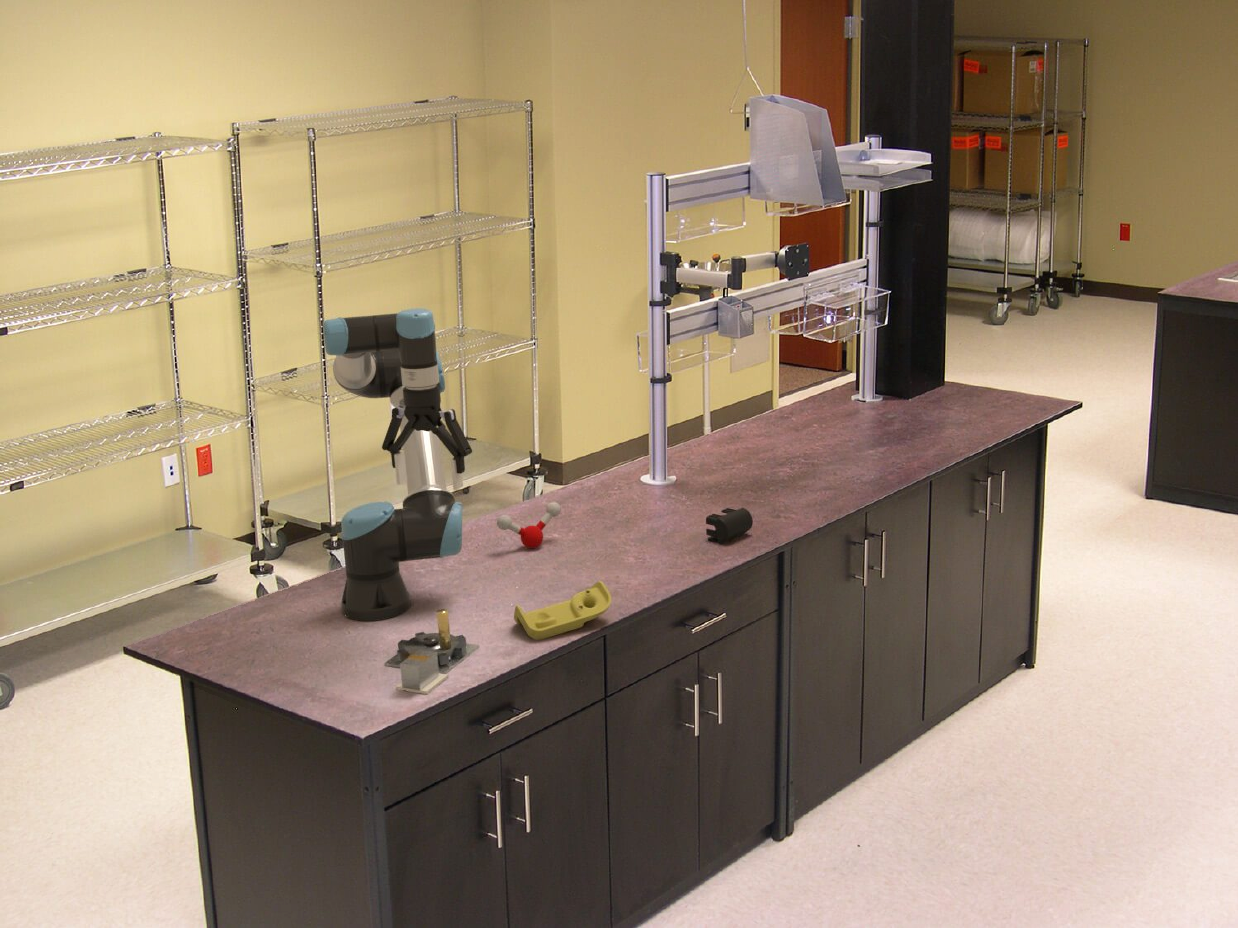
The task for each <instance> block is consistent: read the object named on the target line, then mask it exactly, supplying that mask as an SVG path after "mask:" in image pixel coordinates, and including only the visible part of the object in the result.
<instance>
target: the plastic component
mask: <svg viewBox="0 0 1238 928" xmlns="http://www.w3.org/2000/svg"><path fill="white" fill-rule="evenodd" d="M611 605H612V595H611V593H610V591H609V589H608V588H607V586H606V585H605V583H604V582H603V581H602V580H601V581H600V580H599V581H597V582H595V583H594V584H593V585H592V586H591V587H590V588H589V589H586V588H585V590H583V591H580V592H577V593H576V594H574V595H573V597H572V598H571V599H568V600H566V601H561V602H558V603H555V604H551V605H548V606H544V607H542V608H538V609H535V610H532V611H528V612H524V610H523V609H522V607H521V606H520V605H519V604H518V605H515V608H514V613H513V614H514V615H513V620H514V622H515V623H517V625H522V627H523V629H524V630H525V632H526V633H527V635H528V637H530V638H531V639H533V640H544V639H547V638H551V637H554V636H557V635H560V634H565V633H567V632H572V631H574V630H576V629H581V628H582V627H584V624H585V623H586V622H590V621H593V620H595V619H596V618H598V617H601V616H602V615H603V614H604V613H605V612H606V611H607V610H608V609H609V608H610V606H611Z"/></svg>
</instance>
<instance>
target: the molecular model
mask: <svg viewBox="0 0 1238 928" xmlns="http://www.w3.org/2000/svg"><path fill="white" fill-rule="evenodd" d="M545 507H546V508H545V511H546V512H545V514H544V515H543V516H542V518H541V519H540V520H539V521H538V523H536V525H528V526H526V527H522V526H520V525H518V524H517V523H515V522H513V520H512V518H511V516H509V515H508V514H501V515H499V517H498V518H497V520H496V525H497V527H498V528H499V529H500V530H502V531H507V530H509V531H511V532H514V533H516V534H518V535H519V536H520V541H521V543H522V544H523V546H524V547H525V548H527V549H535V548H538V547H540V546H541V545H542V543H543V541H544V534H543V530H544V528H545V527H546V525H548V523H549V522H550V521H551V519H552V518H555V517H557V516H559V515H561V511H562V507H561V505H560V504H559V503H558V502H556V501H552V502H550V503H548V504H547V506H545Z"/></svg>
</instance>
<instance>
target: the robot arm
mask: <svg viewBox="0 0 1238 928" xmlns="http://www.w3.org/2000/svg"><path fill="white" fill-rule="evenodd" d="M434 320H435V319H434V314H433V312H432V310H430V309H426V308H409V309H404V310H401V311H399V312H398V313H385V314H375V315H374V314H373V315H363V316H362V315H361V316H351V317H350V316H349V317H340V316H339V317H337V318H331V319H326V320H325V321H324V322H323V324H322V327H323V328H322V329H323V338H324V347H325V352H326V354H327V355H329V356H335V359H334V360H333V365H332V372H333V377H334V380H335V381H336V382H337V385H339V386H340V387H341V388H342V389H343V390H345V391H346V392H349V393H350V394H352V395H356V396H358V397H362V398H366V399H383V398H384V399H385V398H388V399H389V402H390V404H391V405H392V406H393V408H392V409H391V420H390V423H389V426H388V428H387V430H386V434H385V436H384V440H383V442H382V445H381V449H382V450H383V451H387V452H389V453H390V457H391V466H392V468H393V469H395V479H396V485H398V486H399V485H403V484H405V483H406V485H407V493H408V495H407V496H406V497H405V498H404V499H403V500H402V507H401V508H396V509H395V506H394V505H393V504H392V503H391V502H388V501H375V502H368V503H365V504H362V505H359V506H356V507H354V508H352V509H350V510H348V511H347V512H346V513H345V514H344V515H343V516H342V518H341V522H340V524H341V535H340V536H341V537H340V538H341V540H342V543H343V544H342V545H343V553H344V554H343V555H344V566H345V567H344V568H345V574H346V581H345V584H344V588H343V593H342V598H341V603H340V604H341V605H340V606H341V613H342V612H343V613H342V614H344V615H346V616H347V617H346V616H345V617H346V618H348V617H349V618H348V619H350V618H352V619H351V620H354V619H357V620H356V621H380V620H386V619H390V618H394V617H396V616H399V615H402V614H403V613H405V612H407V611H408V610H409V609H410V608H411V604H412V602H411V595H410V592H409V590H408V589H407V586H406V584H405V581H404V579H403V577H402V574H401V571H400V562H410V561H411V562H412V561H418V560H426V559H427V560H428V559H429V560H431V559H437V558H439V559H443V558H445V557H450V556H451V557H452V556H457V555H458V554H460V553H461V551H462V548H463V503H462V502H460V501H459V502H458V501H456V500H455V499H456V498H455V496H454V494H453V493H452V492H451V491H449V490H447V483H446V482H447V481H446V477H445V469H444V462H443V455H442V448H441V443H442V444H443V446H444V447H445V449H447V450H448V452H449V453H450V454H451V455H452V456H453V457H452V458H451V459H450V465H451V477H452V479H451V480H452V489H453V490H454V491H458V490H459V489H460V488H463V487H464V481H463V480H464V479H463V473H464V472H465V470H466V466H465V457H467V456H470V455H471V454H472V453H473V450H472V447H471V445H470V443H469V442H468V440H467V437H466V435H465V434H464V431H463V430H462V427H461V426H460V424H459V422H458V420H457V415H456V411H455V409H453V408H451V409H449V410H442V408H441V402H442V400H441V394H442V393H443V392H445V389H446V381H445V380H446V379H445V375H444V371H443V366H442V361H441V358H440V355H439V352H438V350H437V344H436V343H437V342H436V341H437V340H436V325H435V321H434ZM441 419H442V420H441ZM443 421H444V422H445V423H444V422H443ZM399 430H400V434H399V435H398V433H399ZM397 435H398V437H397ZM344 615H343V616H344Z"/></svg>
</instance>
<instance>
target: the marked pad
mask: <svg viewBox="0 0 1238 928" xmlns="http://www.w3.org/2000/svg"><path fill="white" fill-rule="evenodd" d="M447 679H449V674H448V673H446V674H440V673H439V676H438V677H437V678H435V679H434V680H433V681H431V682H430V683H429V684H428V685H426V686H425V687H424V688H422V689H421V690H416V689H410V688H404V687H402V681H401V682H400V683H399V684H397V685H396V686H395V690H397V689H398V690H399V691H403V690H406V691H405V692H411V693H417V694H424V695H428V694H430V693H431V692H432V691H433V690H434V689H436V688H437V687H439V686H440V685H441V684H442V683H443V682H445V681H446V680H447ZM398 690H397V691H398Z"/></svg>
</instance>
